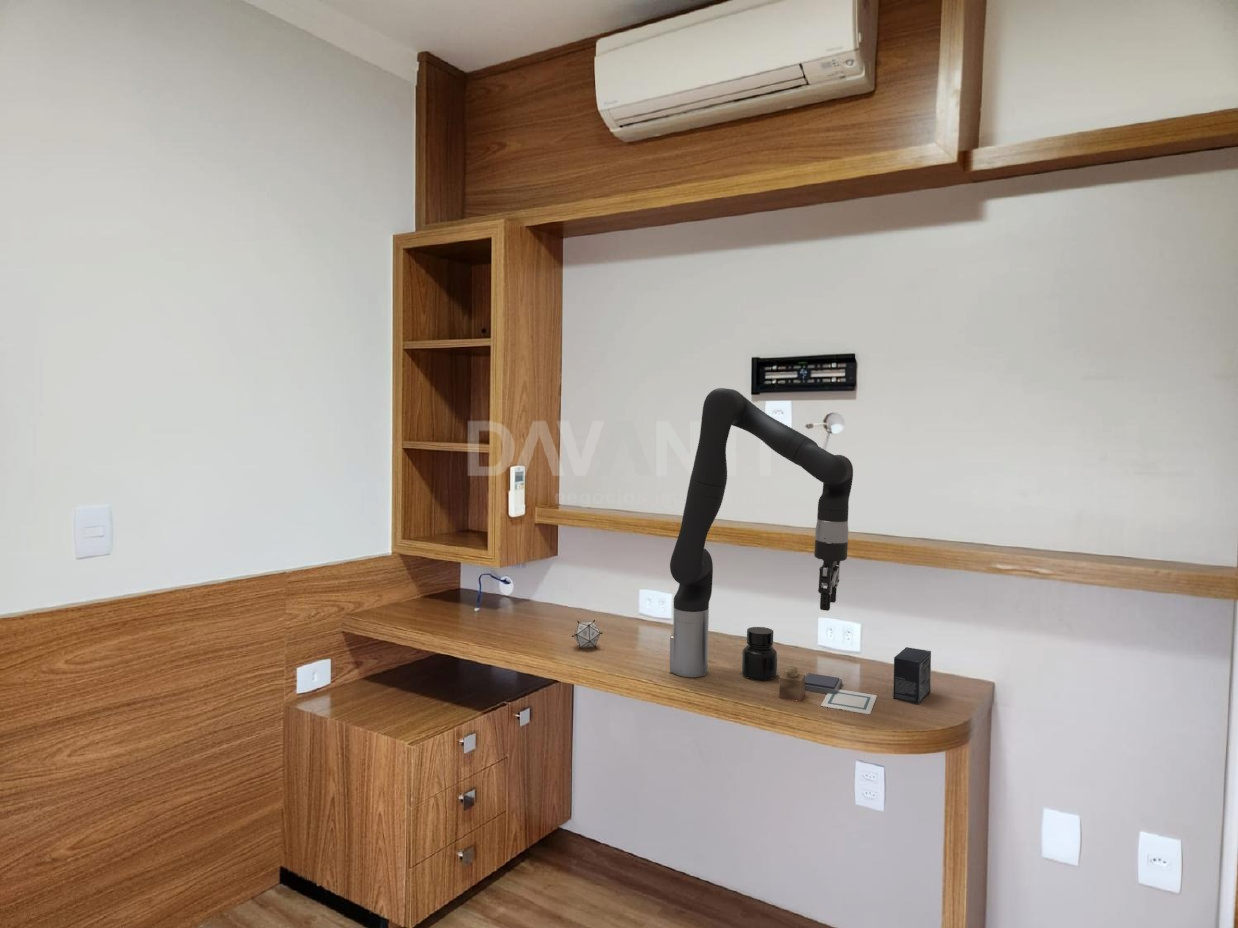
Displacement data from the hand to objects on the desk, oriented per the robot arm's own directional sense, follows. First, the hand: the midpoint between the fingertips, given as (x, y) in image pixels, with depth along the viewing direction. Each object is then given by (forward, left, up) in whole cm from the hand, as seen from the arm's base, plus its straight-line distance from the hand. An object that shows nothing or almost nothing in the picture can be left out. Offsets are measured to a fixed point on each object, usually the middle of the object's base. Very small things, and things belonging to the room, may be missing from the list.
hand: (827, 605), depth 179 cm
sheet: (+6, 0, -22) cm, 23 cm away
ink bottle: (-18, +8, -23) cm, 30 cm away
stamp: (-7, -3, -23) cm, 24 cm away
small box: (+19, +11, -23) cm, 31 cm away
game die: (-69, +8, -23) cm, 74 cm away
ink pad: (-2, +7, -22) cm, 24 cm away
